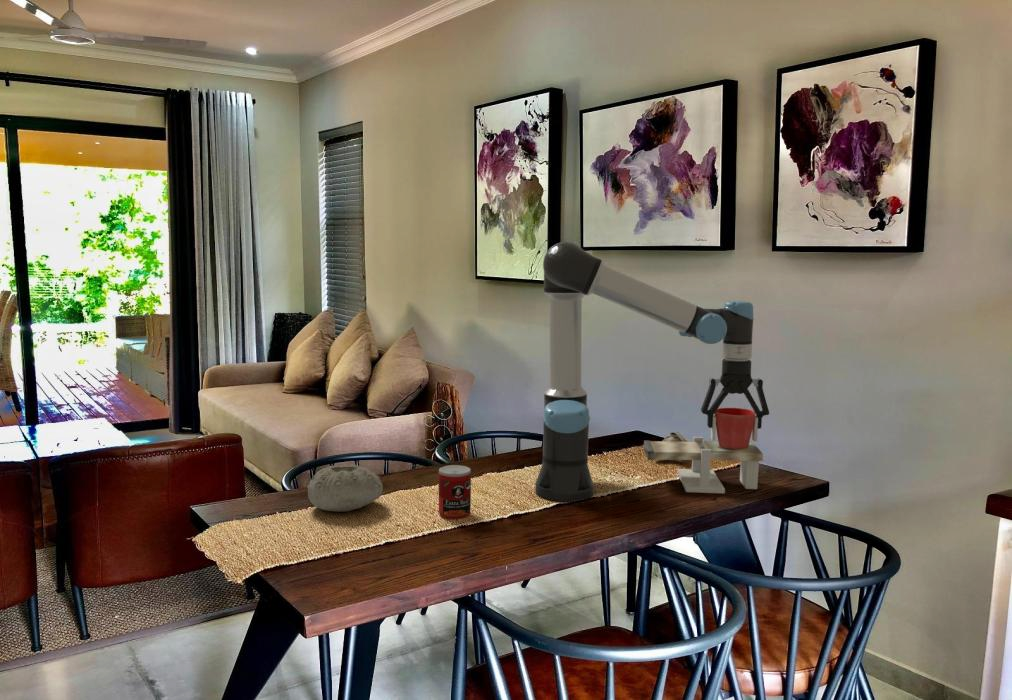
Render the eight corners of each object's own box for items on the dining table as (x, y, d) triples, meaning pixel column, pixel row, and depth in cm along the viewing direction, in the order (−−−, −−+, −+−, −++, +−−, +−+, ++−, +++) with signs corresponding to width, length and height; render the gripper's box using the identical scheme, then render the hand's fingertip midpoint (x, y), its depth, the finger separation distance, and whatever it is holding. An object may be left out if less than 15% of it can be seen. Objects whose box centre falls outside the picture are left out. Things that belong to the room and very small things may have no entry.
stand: (686, 491, 214) (688, 450, 213) (677, 472, 232) (678, 434, 231) (761, 494, 213) (764, 453, 211) (746, 475, 231) (749, 437, 229)
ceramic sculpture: (695, 428, 250) (684, 441, 237) (694, 455, 252) (684, 470, 238) (660, 424, 254) (648, 437, 241) (660, 451, 256) (648, 465, 243)
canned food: (441, 520, 189) (442, 475, 188) (435, 510, 197) (435, 465, 195) (473, 518, 191) (474, 473, 190) (466, 507, 199) (467, 464, 197)
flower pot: (749, 441, 226) (750, 407, 224) (757, 451, 215) (759, 415, 214) (710, 441, 227) (711, 406, 225) (717, 450, 216) (717, 415, 215)
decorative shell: (329, 493, 209) (329, 455, 208) (394, 499, 204) (393, 460, 203) (294, 515, 192) (293, 473, 190) (363, 522, 187) (363, 480, 186)
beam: (647, 460, 217) (648, 450, 217) (643, 448, 229) (644, 439, 229) (762, 461, 215) (763, 452, 214) (752, 450, 227) (752, 441, 226)
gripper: (695, 360, 215) (692, 442, 218) (784, 361, 213) (780, 444, 216) (691, 356, 222) (688, 435, 225) (777, 357, 221) (773, 437, 223)
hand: (733, 439), depth 221 cm, fingers closed on flower pot, 10 cm apart
